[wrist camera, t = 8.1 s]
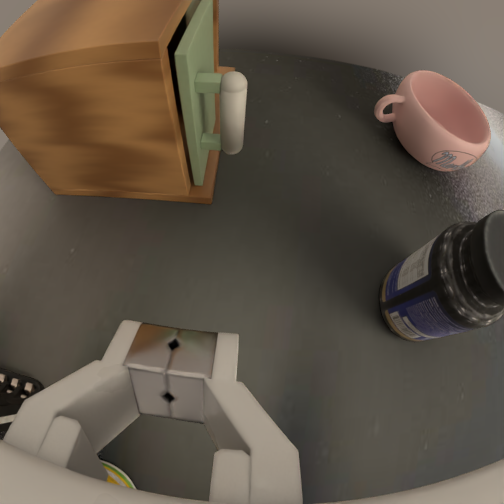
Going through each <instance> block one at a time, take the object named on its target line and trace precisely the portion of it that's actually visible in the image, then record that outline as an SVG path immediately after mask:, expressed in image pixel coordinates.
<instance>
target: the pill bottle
mask: <svg viewBox="0 0 504 504" xmlns="http://www.w3.org/2000/svg"><path fill="white" fill-rule="evenodd" d="M379 300H380V308H381V312H382V315H383V318H384V320H385V322H386V324H387V325H388V326H389V328H390V329H391V331H392V332H394V333H395V334H396V335H397V336H399V337H400V338H402V339H404V340H408V341H412V342H417V341H424V340H429V339H433V338H438V337H443V336H447V335H452V334H457V333H461V332H466V331H469V330H473V329H477V328H481V327H485V326H488V325H490V324H492V323H494V322H495V321H497V319H499V318H500V317H501V316H502V314H503V313H504V210H496V211H494V212H492V213H490V214H489V215H487V216H485V217H484V218H483V219H481V220H479V221H478V222H477V223H475V222H470V221H468V222H467V221H465V222H459V223H457V224H454V225H452V226H450V227H449V228H447V229H446V230H445V231H443V232H442V233H441V234H439V235H438V236H437V237H435V238H434V239H433V240H431V241H430V242H429V243H427V244H426V245H424V246H423V247H422V248H420V249H419V250H417V251H416V252H414V253H413V254H412V255H410V256H409V257H407V258H406V259H405V260H403V261H402V262H400V263H399V264H397V265H396V266H394V267H393V268H392V269H391V270H390V271H389V272H388V273H387V275H386V276H385V278H384V280H383V282H382V284H381V287H380V296H379Z"/></svg>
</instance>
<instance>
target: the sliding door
mask: <svg viewBox="0 0 504 504" xmlns="http://www.w3.org/2000/svg"><path fill="white" fill-rule="evenodd" d="M174 58H175V65H176V72H177V79H178V86H179V93H180V100H181V107H182V113H183V120H184V126H185V132H186V138H187V144H188V150H189V156H190V162H191V168H192V174H193V179H194V185H198V186H202V185H203V181H204V175H205V170H206V165H207V159H208V154H209V150H217V151H221V150H223V151H224V152H225V153H227V154H236V153H238V152H239V151H240V150H241V149H242V146H243V137H244V122H245V108H246V95H247V80H246V78H245V77H244V75H242V74H241V73H239V72H235V71H232V72H228V73H226V74H224V75H223V76H222V74H220V73H214V50H213V0H201V2H200V3H199V5H198V7H197V9H196V11H195V13H194V15H193V17H192V19H191V21H190V23H189V25H188V27H187V29H186V31H185V33H184V35H183V37H182V39H181V41H180V43H179V45H178V47H177V49H176V52H175V54H174ZM215 93H218V94H219V99H220V134H213V129H214V125H215V120H216V118H215Z"/></svg>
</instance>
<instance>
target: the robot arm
mask: <svg viewBox="0 0 504 504" xmlns="http://www.w3.org/2000/svg"><path fill="white" fill-rule="evenodd" d="M238 344H239V335H238V334H234V333H222V332H219V333H217V332H207V331H198V330H189V329H180V328H174V327H168V326H161V325H155V324H149V323H144V322H143V323H141V322H136V321H130V320H124V321H123V322H121V324H120V326H119V328H118V330H117V331H116V333H115V335H114V337H113V339H112V341H111V343H110V345H109V347H108V349H107V351H106V353H105V355H104V357H103V358H102V360H101V361H99V360H95V361H93V362H92V363H90V364H88V365H86V366H85V367H83V368H81V369H79V370H77V371H76V372H74V373H72V374H70V375H69V376H67V377H65V378H63V379H62V380H60V381H58V382H56V383H54V384H53V385H51V386H49V387H47V388H46V389H44V390H42V391H40V392H38V393H37V394H35V395H33V396H31V397H29V398H28V399H26V400H24V402H23V404H22V406H21V407H20V409H19V411H18V413H17V414H16V416H15V418H14V420H13V422H12V424H11V425H10V427H9V429H8V431H7V433H6V435H5V437H4V439H3V440H1V439H0V504H303V499H302V487H301V475H300V464H299V453H298V450H297V449H296V448H295V446H294V445H293V444H292V443H291V442H290V441H289V439H288V438H287V437H286V436H285V435H284V433H283V432H282V431H281V430H280V429H279V427H278V426H277V425H276V424H275V423H274V421H273V420H272V419H271V418H270V416H269V415H268V414H267V413H266V412H265V410H264V409H263V408H262V407H261V405H260V404H259V403H258V402H257V400H256V399H255V398H254V396H253V395H252V394H251V393H250V391H249V390H248V389H247V387H246V386H245V385H244V384H243V382H237V381H236V376H237V360H238ZM139 414H144V415H150V416H156V417H163V418H170V419H176V420H182V421H188V422H194V423H201V424H204V426H205V428H206V430H207V431H208V433H209V435H210V437H211V439H212V441H213V443H214V444H215V446H216V448H217V450H218V451H217V452H216V453H214V461H213V470H212V478H211V487H210V496H209V501H200V500H192V499H185V498H179V497H172V496H167V495H161V494H156V493H151V492H146V491H142V490H137V489H133V488H129V487H125V486H121V485H117V484H113V483H110V482H107V478H108V472H107V471H106V469H105V468H104V466H103V464H102V463H101V461H100V459H99V458H98V456H97V453H98V452H99V451H100V450H101V449H102V448H104V447H105V446H106V445H107V444H108V443H109V442H110V441H112V440H113V439H114V438H115V437H116V436H117V435H118V434H119V433H121V432H122V431H123V430H124V429H125V428H126V427H127V426H128V425H130V424H131V423H132V422H133V421H134V420H135V419H136V418H137V417H138V416H139ZM317 504H504V459H502V460H499V461H497V462H495V463H492V464H490V465H487V466H485V467H482V468H480V469H477V470H474V471H471V472H469V473H466V474H463V475H460V476H457V477H454V478H451V479H447V480H444V481H441V482H437V483H434V484H430V485H426V486H423V487H419V488H415V489H410V490H406V491H401V492H397V493H392V494H387V495H381V496H376V497H370V498H363V499H356V500H348V501H340V502H330V503H317Z"/></svg>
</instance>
